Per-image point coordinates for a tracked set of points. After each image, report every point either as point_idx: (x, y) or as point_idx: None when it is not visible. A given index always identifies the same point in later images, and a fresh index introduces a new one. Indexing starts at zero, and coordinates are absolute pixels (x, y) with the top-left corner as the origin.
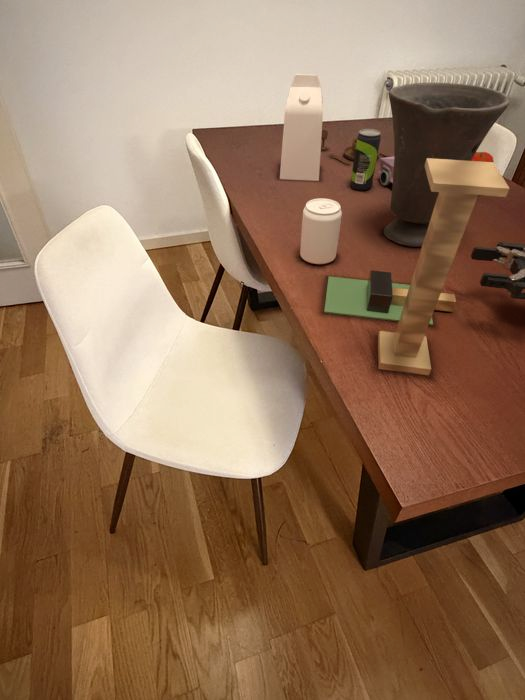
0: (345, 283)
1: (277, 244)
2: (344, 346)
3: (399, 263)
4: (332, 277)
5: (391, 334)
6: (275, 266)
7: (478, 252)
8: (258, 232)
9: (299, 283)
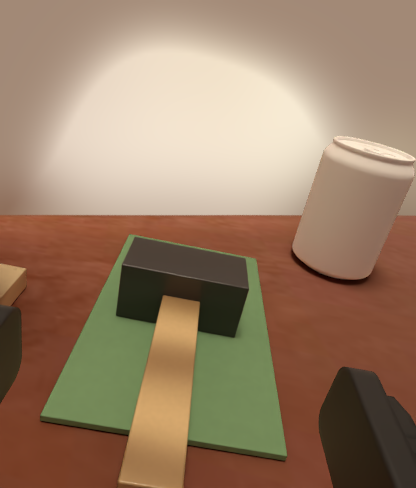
0: None
1: None
2: (13, 240)
3: (409, 409)
4: (253, 262)
5: (2, 283)
6: (266, 218)
7: (345, 407)
8: None
9: (222, 230)
